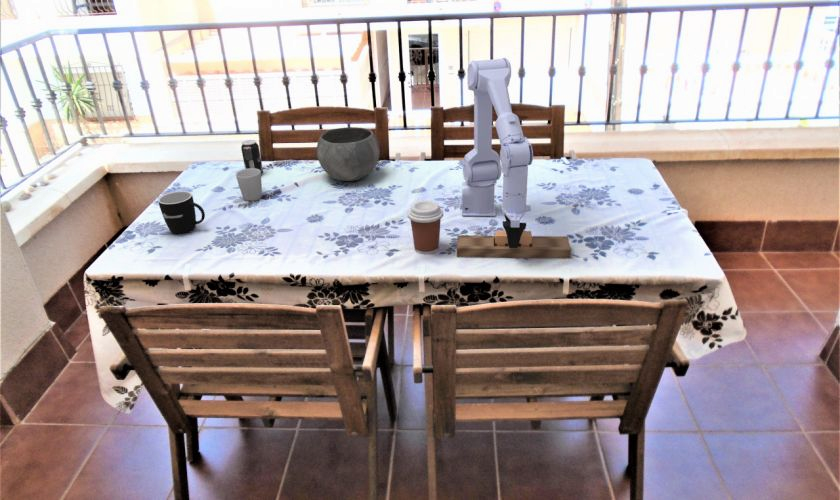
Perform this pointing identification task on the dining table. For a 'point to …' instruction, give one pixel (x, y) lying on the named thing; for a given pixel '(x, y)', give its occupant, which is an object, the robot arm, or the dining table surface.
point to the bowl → (348, 153)
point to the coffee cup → (425, 226)
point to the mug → (180, 211)
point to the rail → (489, 248)
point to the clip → (502, 239)
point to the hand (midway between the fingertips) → (512, 240)
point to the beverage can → (251, 155)
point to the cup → (250, 183)
